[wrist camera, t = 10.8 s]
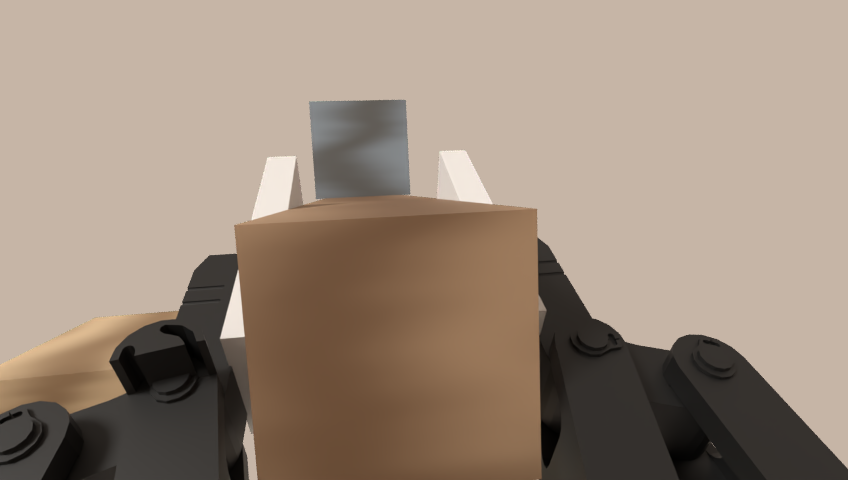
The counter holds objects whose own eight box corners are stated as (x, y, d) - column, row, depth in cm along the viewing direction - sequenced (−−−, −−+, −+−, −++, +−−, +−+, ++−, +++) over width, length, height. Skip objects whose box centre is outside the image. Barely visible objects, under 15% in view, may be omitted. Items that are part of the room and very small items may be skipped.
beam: (223, 524, 6) (146, -216, 5) (326, 259, 30) (316, 116, 29) (572, 474, 7) (566, -185, 6) (404, 254, 31) (397, 114, 30)
